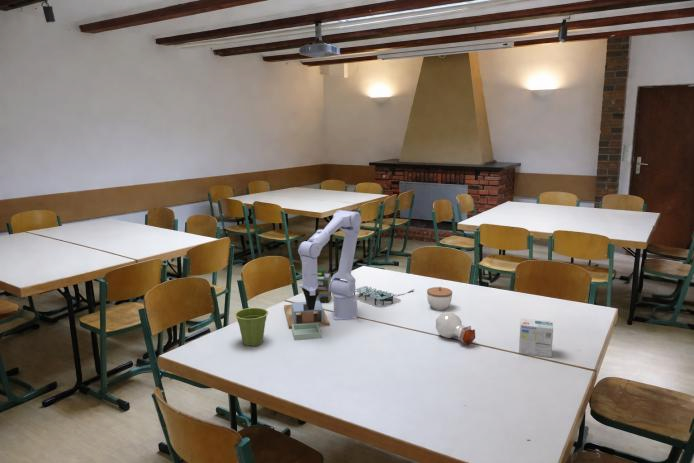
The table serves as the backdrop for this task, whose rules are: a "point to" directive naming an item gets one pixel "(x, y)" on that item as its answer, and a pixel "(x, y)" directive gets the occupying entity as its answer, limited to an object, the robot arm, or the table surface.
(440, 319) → the potion bottle
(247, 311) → the plant pot
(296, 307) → the cover
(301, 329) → the tray
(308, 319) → the block
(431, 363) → the table surface
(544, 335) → the light bulb box
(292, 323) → the board
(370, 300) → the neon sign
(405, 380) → the table surface
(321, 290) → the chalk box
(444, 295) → the lidded jar
